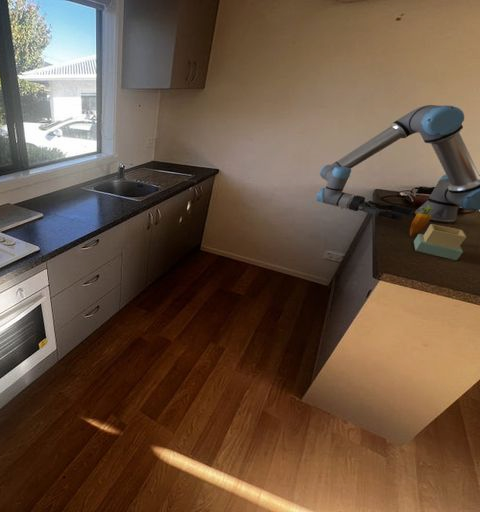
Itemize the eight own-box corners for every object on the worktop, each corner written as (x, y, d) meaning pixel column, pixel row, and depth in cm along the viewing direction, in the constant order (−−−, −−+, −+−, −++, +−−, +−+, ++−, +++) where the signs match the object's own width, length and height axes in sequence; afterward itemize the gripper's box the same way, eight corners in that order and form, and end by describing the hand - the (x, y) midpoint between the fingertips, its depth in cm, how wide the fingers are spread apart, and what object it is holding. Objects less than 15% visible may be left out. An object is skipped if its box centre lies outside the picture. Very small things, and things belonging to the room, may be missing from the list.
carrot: (415, 239, 132) (434, 208, 124) (401, 235, 136) (419, 204, 128) (420, 237, 133) (440, 206, 126) (407, 233, 137) (425, 203, 130)
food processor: (413, 240, 130) (425, 221, 126) (452, 249, 123) (466, 229, 119) (415, 250, 122) (428, 230, 117) (456, 260, 115) (472, 239, 110)
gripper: (357, 204, 157) (409, 217, 142) (338, 213, 145) (393, 228, 129) (364, 191, 153) (418, 202, 138) (345, 199, 141) (403, 212, 126)
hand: (406, 215), depth 134 cm, fingers open, 13 cm apart
